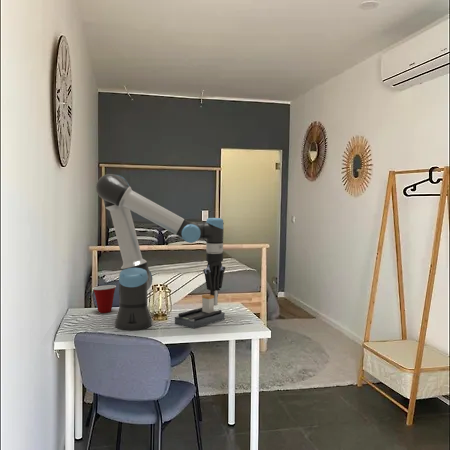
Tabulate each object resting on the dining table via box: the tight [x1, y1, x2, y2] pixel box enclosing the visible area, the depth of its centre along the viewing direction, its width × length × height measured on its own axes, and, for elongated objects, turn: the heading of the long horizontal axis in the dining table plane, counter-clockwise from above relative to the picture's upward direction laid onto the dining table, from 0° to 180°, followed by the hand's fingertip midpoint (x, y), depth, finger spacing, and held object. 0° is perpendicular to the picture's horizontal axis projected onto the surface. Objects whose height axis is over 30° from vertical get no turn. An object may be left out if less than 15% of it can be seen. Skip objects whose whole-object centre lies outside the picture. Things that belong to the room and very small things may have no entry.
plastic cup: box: [92, 284, 117, 314], centre depth 232 cm, size 11×11×12 cm
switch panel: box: [174, 307, 226, 329], centre depth 215 cm, size 20×11×4 cm, turn 141°
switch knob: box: [201, 293, 215, 313], centre depth 219 cm, size 3×4×7 cm
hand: (214, 304), depth 222 cm, fingers closed
